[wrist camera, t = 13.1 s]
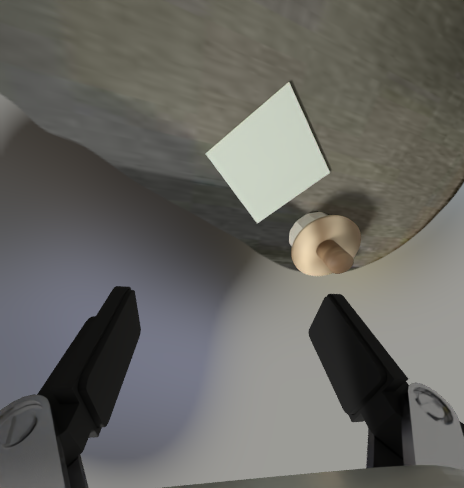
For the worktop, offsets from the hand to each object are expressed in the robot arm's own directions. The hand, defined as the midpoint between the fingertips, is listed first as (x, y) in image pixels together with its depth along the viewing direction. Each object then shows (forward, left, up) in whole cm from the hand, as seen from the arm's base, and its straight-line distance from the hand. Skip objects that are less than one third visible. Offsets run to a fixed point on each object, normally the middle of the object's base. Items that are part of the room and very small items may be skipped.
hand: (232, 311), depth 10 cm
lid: (-9, +21, -24) cm, 33 cm away
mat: (-9, +3, -30) cm, 31 cm away
